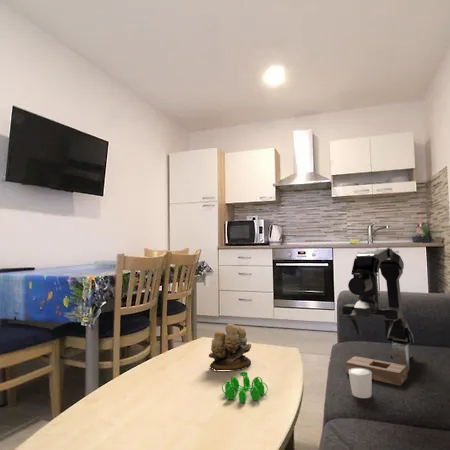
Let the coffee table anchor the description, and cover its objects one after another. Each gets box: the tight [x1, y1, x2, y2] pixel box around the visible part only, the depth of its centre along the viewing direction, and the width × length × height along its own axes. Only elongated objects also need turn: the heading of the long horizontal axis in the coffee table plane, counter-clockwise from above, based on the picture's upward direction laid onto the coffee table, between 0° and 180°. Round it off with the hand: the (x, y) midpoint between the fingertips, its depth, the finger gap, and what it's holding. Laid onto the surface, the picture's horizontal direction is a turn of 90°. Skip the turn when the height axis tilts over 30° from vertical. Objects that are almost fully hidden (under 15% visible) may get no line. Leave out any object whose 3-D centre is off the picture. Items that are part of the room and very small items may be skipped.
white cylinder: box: [348, 368, 373, 399], centre depth 107 cm, size 7×7×7 cm
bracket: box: [391, 343, 411, 373], centre depth 124 cm, size 3×4×9 cm, turn 47°
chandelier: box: [221, 371, 269, 404], centre depth 112 cm, size 15×15×7 cm
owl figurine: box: [208, 323, 252, 371], centre depth 139 cm, size 18×12×17 cm, turn 108°
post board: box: [345, 355, 408, 386], centre depth 121 cm, size 8×18×4 cm, turn 47°
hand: (372, 336), depth 117 cm, fingers open, 9 cm apart
